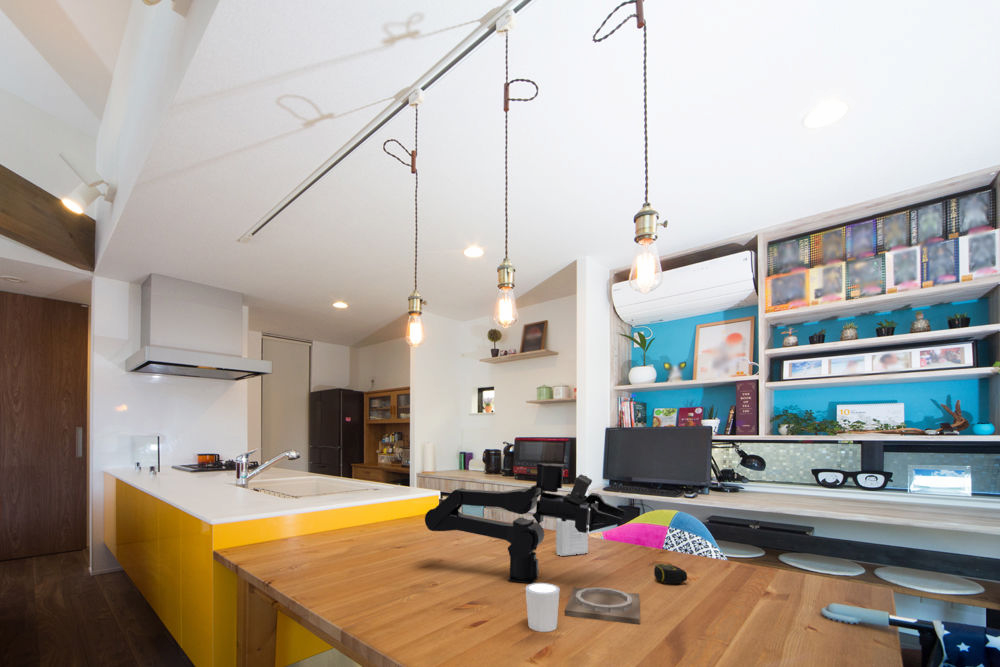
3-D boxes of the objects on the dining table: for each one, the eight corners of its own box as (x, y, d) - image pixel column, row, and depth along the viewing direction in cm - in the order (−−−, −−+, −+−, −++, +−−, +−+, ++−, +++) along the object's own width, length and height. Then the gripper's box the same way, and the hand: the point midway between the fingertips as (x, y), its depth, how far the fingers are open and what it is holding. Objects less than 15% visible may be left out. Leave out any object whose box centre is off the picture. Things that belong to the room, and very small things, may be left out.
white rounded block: (582, 550, 153) (581, 509, 156) (590, 554, 150) (589, 511, 152) (553, 553, 149) (553, 511, 151) (561, 557, 145) (560, 513, 148)
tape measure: (688, 585, 123) (688, 569, 123) (665, 587, 121) (665, 571, 121) (671, 577, 129) (670, 561, 130) (649, 579, 127) (648, 563, 128)
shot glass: (523, 619, 100) (523, 582, 101) (556, 618, 101) (556, 581, 102) (527, 633, 93) (527, 594, 94) (563, 632, 94) (563, 593, 95)
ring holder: (564, 615, 102) (564, 605, 103) (573, 591, 116) (573, 582, 117) (639, 624, 98) (639, 613, 99) (639, 598, 112) (639, 589, 113)
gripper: (554, 479, 117) (621, 488, 112) (569, 470, 135) (628, 478, 129) (551, 527, 116) (618, 539, 111) (567, 512, 133) (626, 521, 128)
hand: (623, 516), depth 120 cm, fingers open, 9 cm apart
